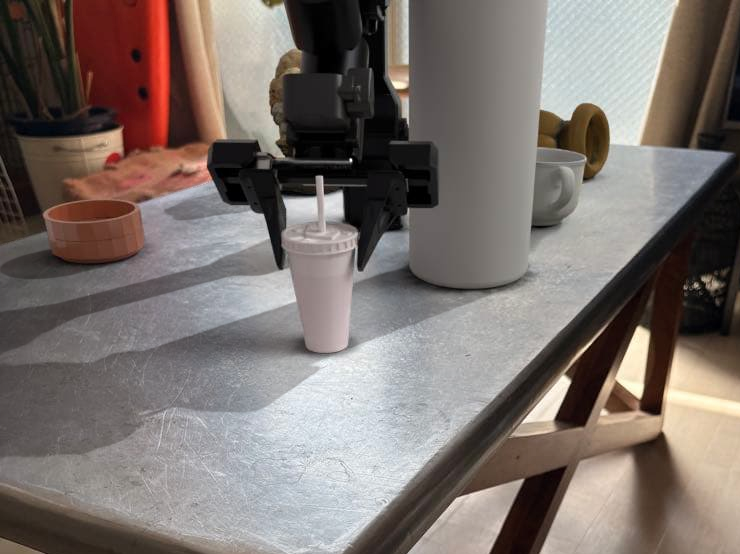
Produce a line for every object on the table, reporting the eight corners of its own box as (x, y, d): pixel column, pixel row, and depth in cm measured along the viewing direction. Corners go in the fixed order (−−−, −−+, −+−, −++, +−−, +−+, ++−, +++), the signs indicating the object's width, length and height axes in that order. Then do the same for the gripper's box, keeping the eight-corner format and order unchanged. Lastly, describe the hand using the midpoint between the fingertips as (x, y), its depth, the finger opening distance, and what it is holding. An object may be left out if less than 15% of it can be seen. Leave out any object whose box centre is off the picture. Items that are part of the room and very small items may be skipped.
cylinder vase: (510, 297, 86) (529, -1, 72) (392, 283, 90) (387, -3, 76) (539, 260, 96) (561, -9, 82) (431, 249, 99) (434, -11, 85)
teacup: (485, 210, 113) (489, 143, 109) (568, 208, 114) (574, 141, 109) (505, 241, 102) (509, 168, 97) (597, 238, 103) (605, 166, 98)
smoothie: (306, 364, 73) (293, 188, 65) (279, 338, 78) (263, 171, 70) (375, 350, 75) (371, 178, 67) (345, 326, 80) (337, 162, 72)
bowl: (150, 237, 104) (144, 197, 101) (140, 263, 96) (133, 221, 93) (62, 240, 103) (53, 200, 100) (44, 267, 95) (33, 224, 92)
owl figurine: (331, 200, 118) (324, 56, 108) (250, 195, 120) (236, 54, 111) (370, 171, 132) (367, 41, 122) (297, 167, 134) (288, 40, 125)
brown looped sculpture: (488, 101, 139) (618, 87, 127) (482, 188, 142) (608, 183, 130) (420, 73, 125) (559, 54, 112) (415, 171, 128) (550, 162, 115)
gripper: (195, 25, 67) (175, 213, 64) (440, 25, 65) (430, 217, 63) (232, 119, 78) (217, 283, 75) (442, 121, 76) (434, 288, 74)
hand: (319, 268), depth 71 cm, fingers closed on smoothie, 6 cm apart
